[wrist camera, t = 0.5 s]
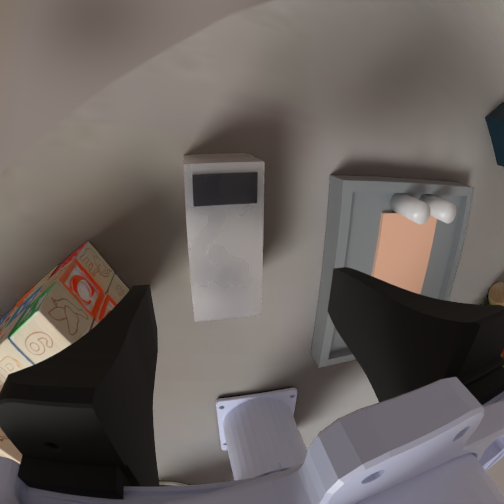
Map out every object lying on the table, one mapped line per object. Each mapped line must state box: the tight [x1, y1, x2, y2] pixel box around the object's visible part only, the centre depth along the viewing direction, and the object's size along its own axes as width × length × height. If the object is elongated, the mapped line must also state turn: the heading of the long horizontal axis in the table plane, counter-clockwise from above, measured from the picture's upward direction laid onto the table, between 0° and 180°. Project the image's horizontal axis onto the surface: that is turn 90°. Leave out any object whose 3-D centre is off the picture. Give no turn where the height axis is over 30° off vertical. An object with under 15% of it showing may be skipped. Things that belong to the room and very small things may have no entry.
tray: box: [311, 175, 474, 368], centre depth 24 cm, size 16×14×4 cm
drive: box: [184, 153, 265, 322], centre depth 19 cm, size 9×4×5 cm, turn 179°
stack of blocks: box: [0, 241, 129, 464], centre depth 16 cm, size 21×6×12 cm, turn 120°
